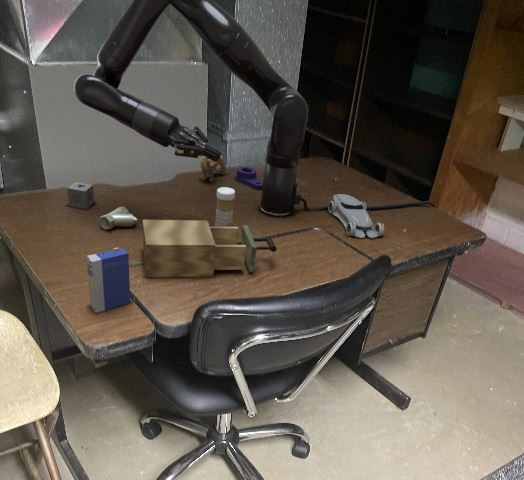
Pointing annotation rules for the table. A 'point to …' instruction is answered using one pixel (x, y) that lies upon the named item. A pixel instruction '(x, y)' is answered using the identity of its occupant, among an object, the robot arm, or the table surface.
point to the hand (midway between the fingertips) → (219, 157)
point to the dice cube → (80, 195)
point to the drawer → (236, 248)
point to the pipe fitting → (117, 219)
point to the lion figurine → (211, 166)
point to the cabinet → (178, 248)
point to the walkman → (108, 279)
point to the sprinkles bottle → (224, 207)
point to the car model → (354, 216)
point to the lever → (249, 177)
